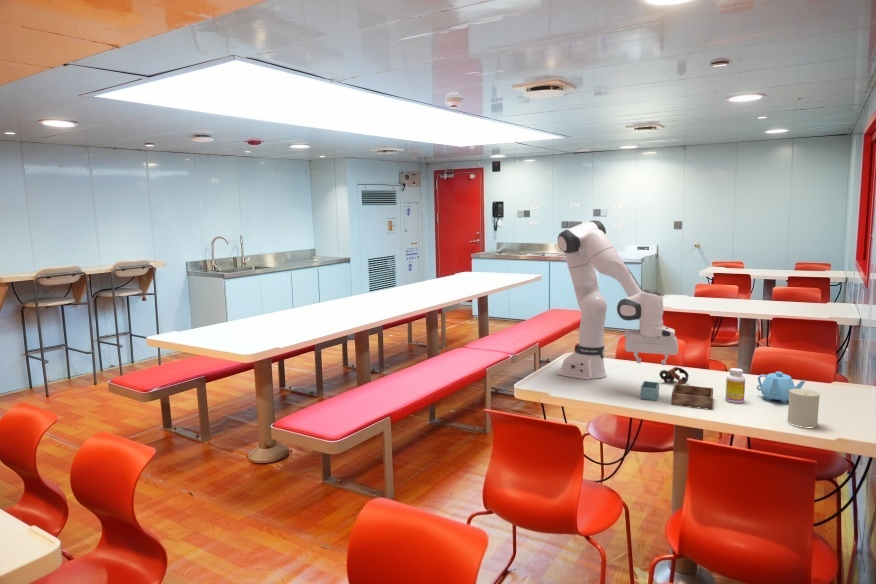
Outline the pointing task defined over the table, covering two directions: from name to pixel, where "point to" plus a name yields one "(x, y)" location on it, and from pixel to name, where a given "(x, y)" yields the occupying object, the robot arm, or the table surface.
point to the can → (803, 407)
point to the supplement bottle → (735, 386)
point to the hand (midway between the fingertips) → (651, 363)
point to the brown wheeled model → (674, 375)
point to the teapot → (777, 386)
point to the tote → (649, 391)
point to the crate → (692, 396)
